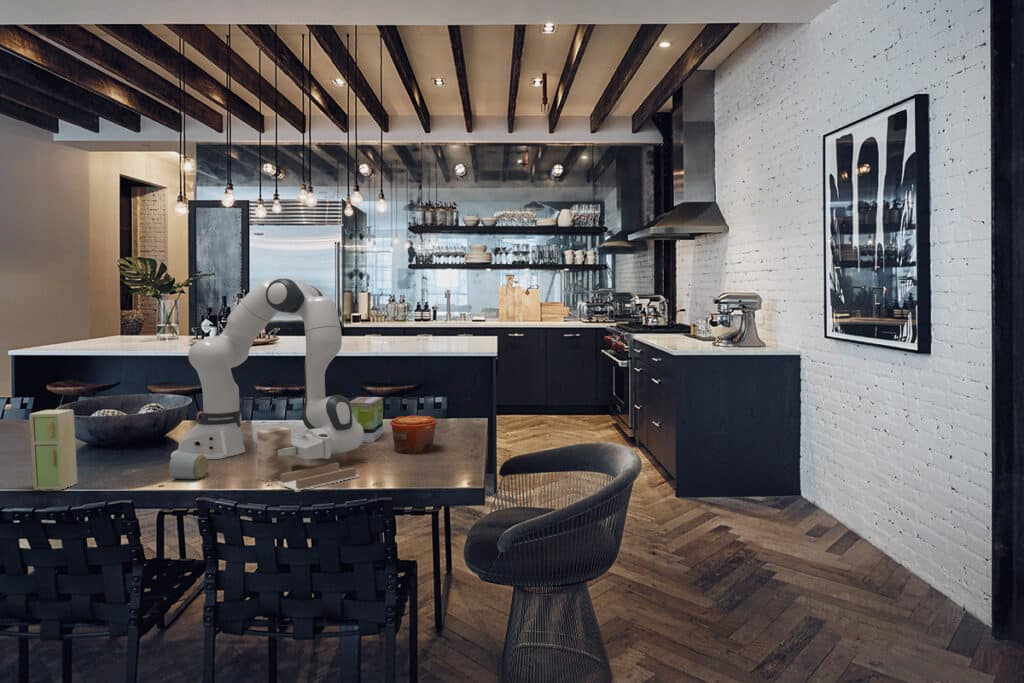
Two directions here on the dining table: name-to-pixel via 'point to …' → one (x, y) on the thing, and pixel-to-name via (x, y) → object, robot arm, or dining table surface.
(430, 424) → the food container
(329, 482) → the track
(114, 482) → the dining table surface
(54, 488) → the toy refrigerator
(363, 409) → the tea box
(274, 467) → the wooden block
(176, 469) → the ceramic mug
